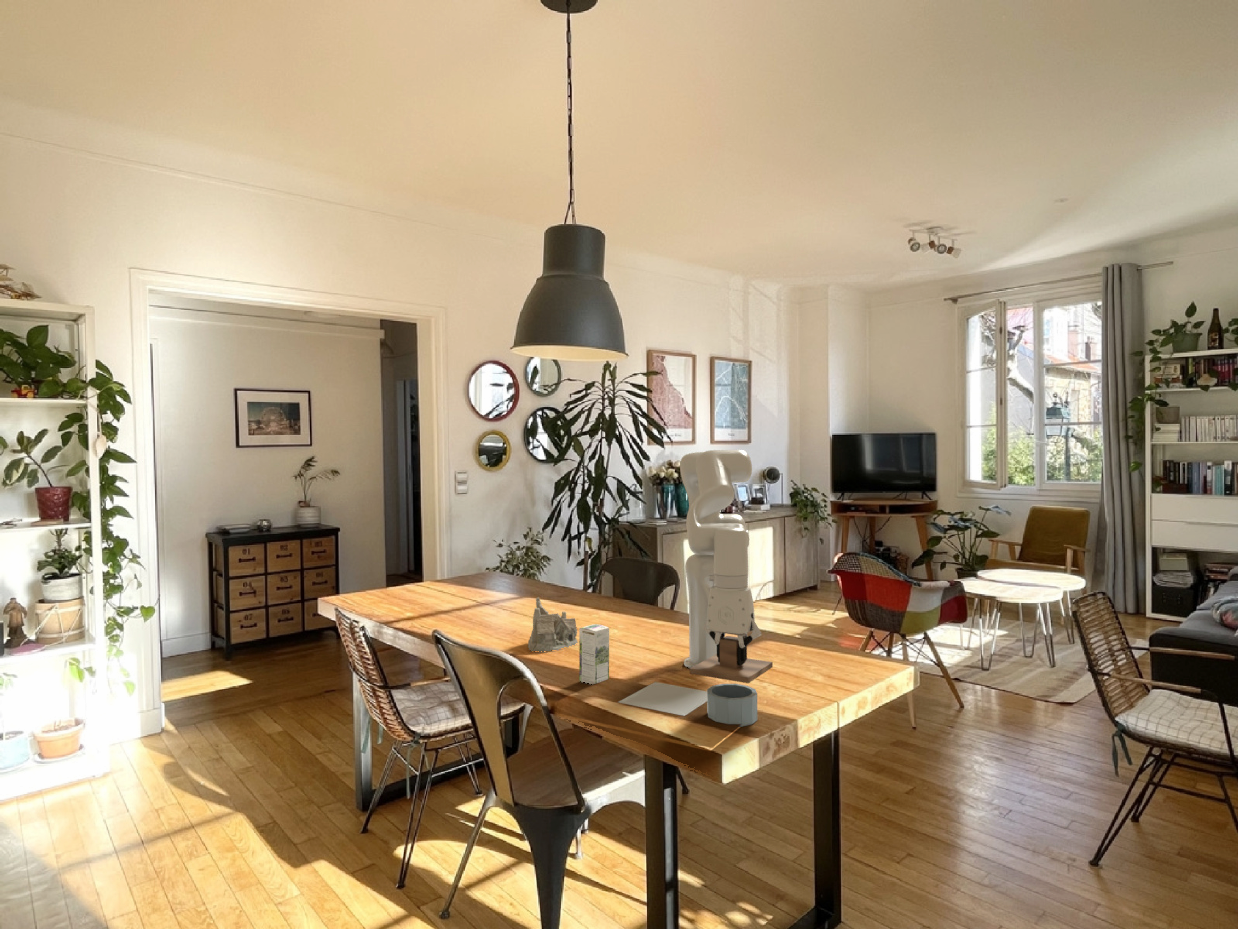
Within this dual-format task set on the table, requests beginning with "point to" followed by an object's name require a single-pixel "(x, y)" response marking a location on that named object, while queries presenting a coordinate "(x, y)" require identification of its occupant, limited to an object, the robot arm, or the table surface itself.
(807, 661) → the table surface
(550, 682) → the table surface
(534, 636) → the ceramic cottage
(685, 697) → the grey mat
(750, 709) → the slate bowl
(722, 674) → the walnut lid
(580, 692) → the table surface
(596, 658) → the syrup box
